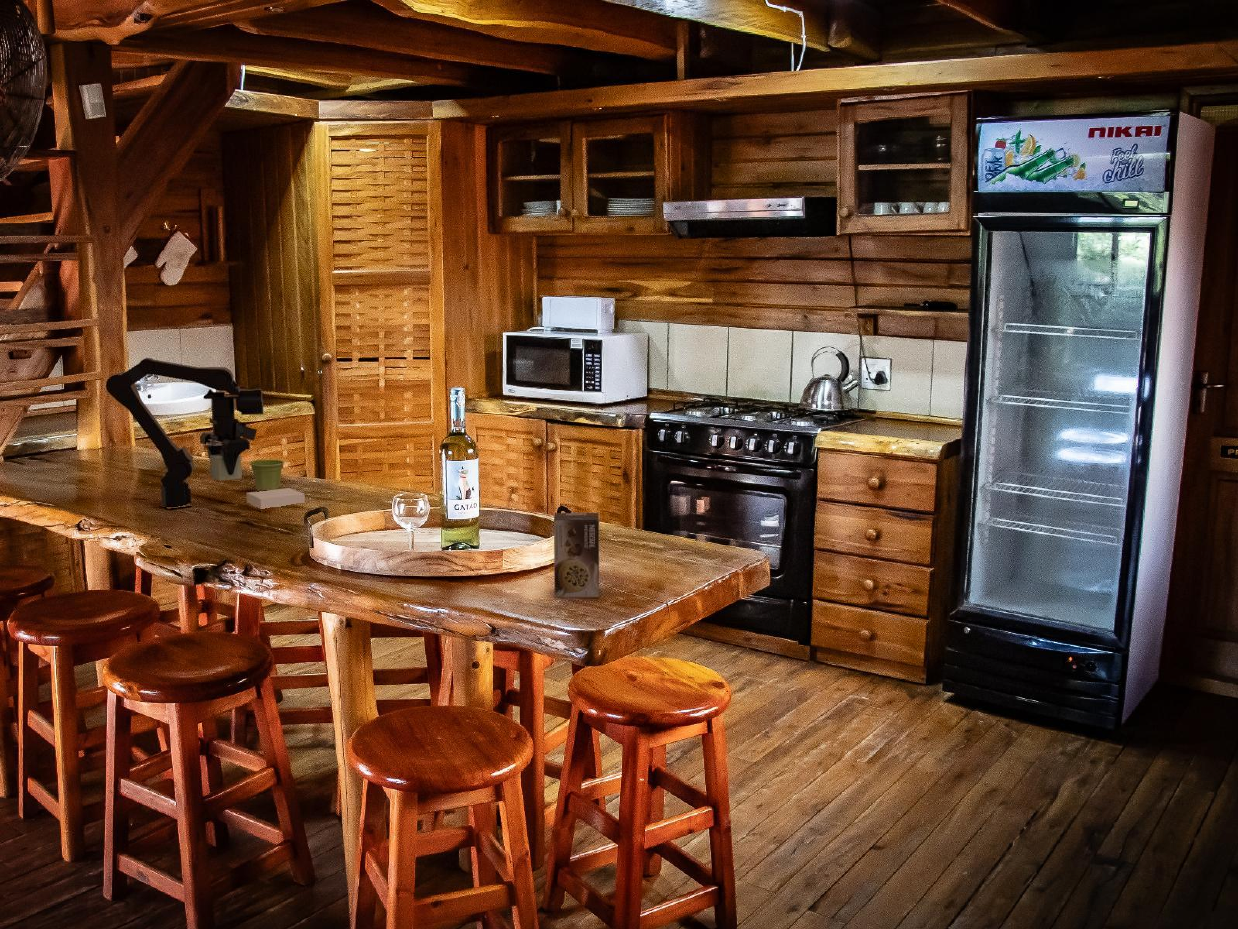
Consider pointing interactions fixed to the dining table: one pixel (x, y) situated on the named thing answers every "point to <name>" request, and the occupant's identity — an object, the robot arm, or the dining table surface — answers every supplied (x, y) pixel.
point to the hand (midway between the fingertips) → (225, 473)
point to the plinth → (275, 498)
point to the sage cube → (223, 468)
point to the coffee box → (576, 555)
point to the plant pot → (267, 473)
